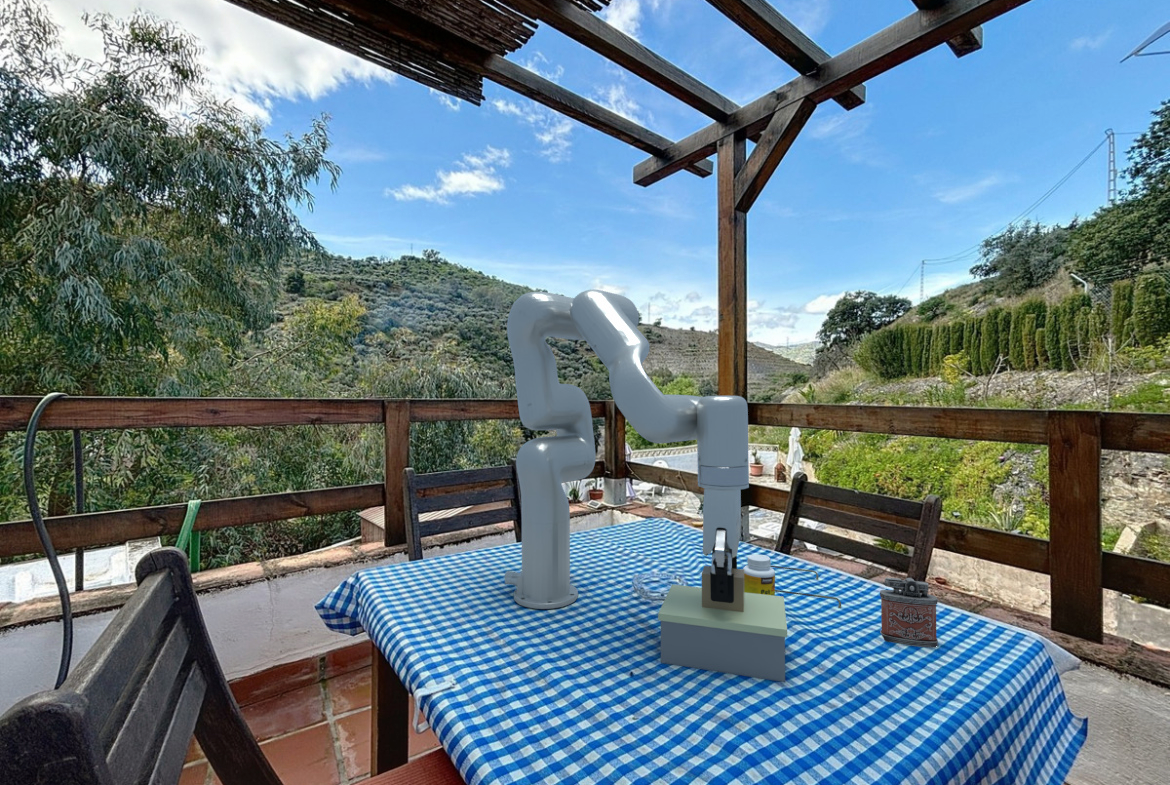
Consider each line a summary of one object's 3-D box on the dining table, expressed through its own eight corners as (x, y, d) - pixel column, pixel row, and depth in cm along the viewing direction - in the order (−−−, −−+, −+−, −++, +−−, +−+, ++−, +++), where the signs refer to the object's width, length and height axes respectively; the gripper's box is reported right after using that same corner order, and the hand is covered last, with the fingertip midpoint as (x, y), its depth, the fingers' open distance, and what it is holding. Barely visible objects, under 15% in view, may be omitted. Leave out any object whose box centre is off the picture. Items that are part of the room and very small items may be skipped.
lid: (658, 630, 77) (658, 579, 77) (672, 599, 89) (672, 554, 89) (787, 648, 72) (786, 592, 72) (783, 612, 84) (783, 564, 84)
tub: (660, 667, 77) (660, 619, 77) (673, 633, 89) (673, 591, 89) (785, 687, 72) (784, 636, 72) (782, 648, 83) (781, 603, 83)
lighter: (934, 640, 86) (933, 578, 86) (940, 649, 83) (940, 585, 83) (878, 633, 89) (877, 573, 89) (882, 641, 85) (882, 579, 86)
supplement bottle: (761, 622, 93) (761, 563, 93) (736, 611, 98) (736, 556, 98) (781, 615, 96) (781, 558, 96) (756, 605, 101) (756, 551, 101)
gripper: (703, 468, 90) (705, 570, 90) (690, 484, 74) (692, 608, 73) (750, 470, 88) (751, 574, 87) (747, 486, 71) (749, 614, 71)
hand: (724, 589), depth 80 cm, fingers open, 9 cm apart
